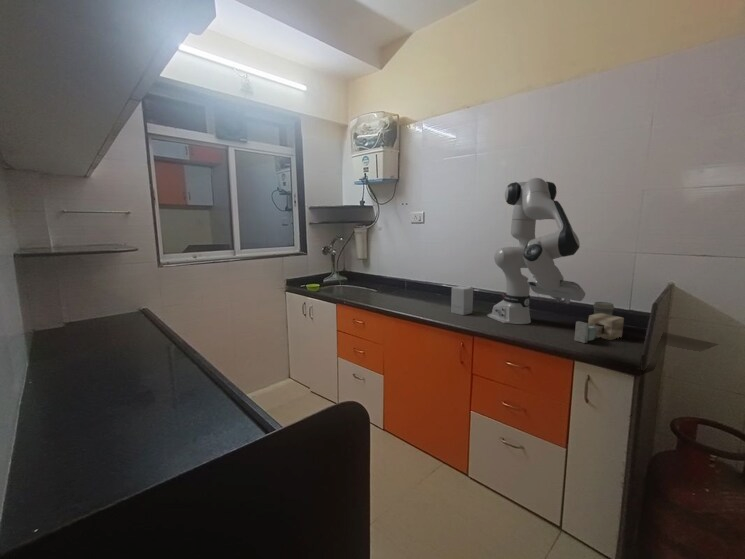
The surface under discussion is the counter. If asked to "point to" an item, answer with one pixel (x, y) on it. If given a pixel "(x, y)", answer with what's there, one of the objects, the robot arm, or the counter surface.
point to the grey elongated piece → (586, 331)
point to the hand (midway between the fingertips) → (563, 301)
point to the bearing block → (608, 325)
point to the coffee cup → (603, 308)
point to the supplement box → (462, 300)
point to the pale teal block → (591, 333)
